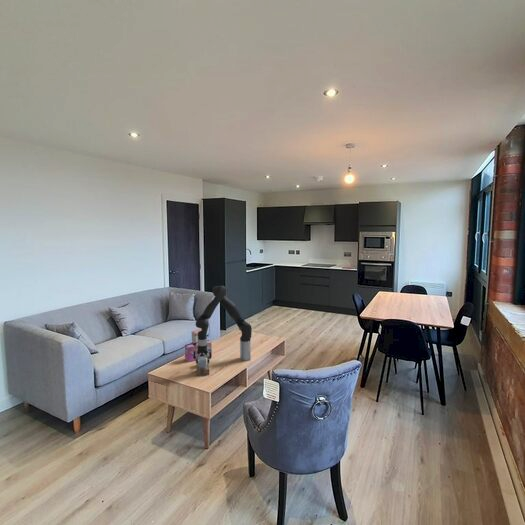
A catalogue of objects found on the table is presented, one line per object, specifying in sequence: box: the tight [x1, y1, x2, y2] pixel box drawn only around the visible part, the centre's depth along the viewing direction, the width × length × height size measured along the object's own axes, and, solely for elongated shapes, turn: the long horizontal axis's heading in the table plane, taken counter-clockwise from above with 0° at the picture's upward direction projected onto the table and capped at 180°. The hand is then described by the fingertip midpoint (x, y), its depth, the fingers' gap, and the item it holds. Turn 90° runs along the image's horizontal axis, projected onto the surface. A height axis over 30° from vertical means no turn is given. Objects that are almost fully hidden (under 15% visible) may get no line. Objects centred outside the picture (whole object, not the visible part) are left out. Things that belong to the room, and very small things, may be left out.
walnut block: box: [195, 363, 210, 377], centre depth 258 cm, size 10×10×5 cm
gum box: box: [184, 339, 213, 363], centre depth 287 cm, size 24×8×14 cm, turn 125°
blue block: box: [199, 358, 207, 368], centre depth 258 cm, size 5×5×6 cm
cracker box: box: [191, 328, 202, 343], centre depth 301 cm, size 14×6×21 cm, turn 142°
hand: (202, 363), depth 257 cm, fingers open, 8 cm apart
